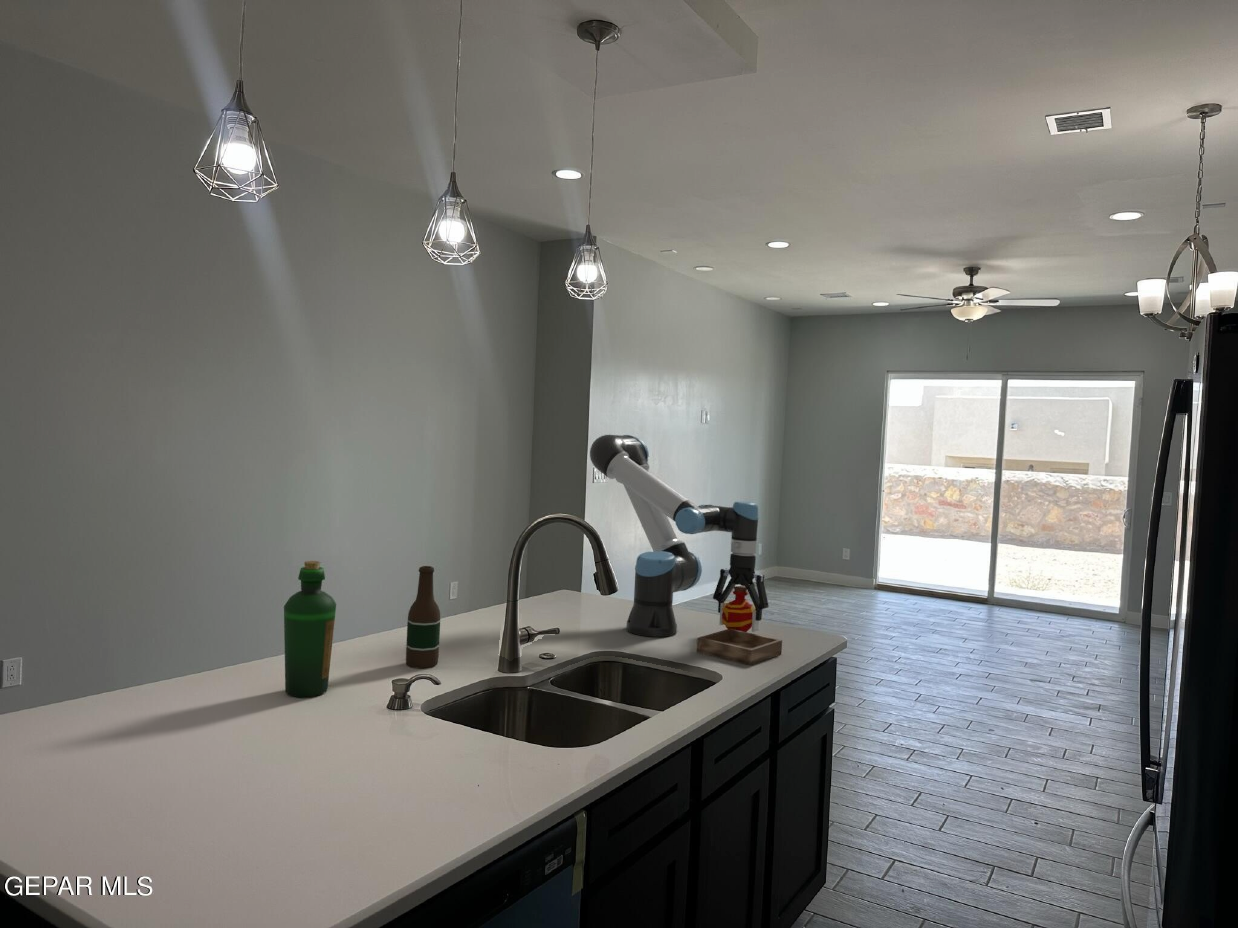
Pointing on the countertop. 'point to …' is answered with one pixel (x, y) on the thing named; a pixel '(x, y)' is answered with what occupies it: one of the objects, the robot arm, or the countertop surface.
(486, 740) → the countertop surface
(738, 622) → the potion bottle
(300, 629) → the bottle
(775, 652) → the walnut tray
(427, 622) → the beer bottle
